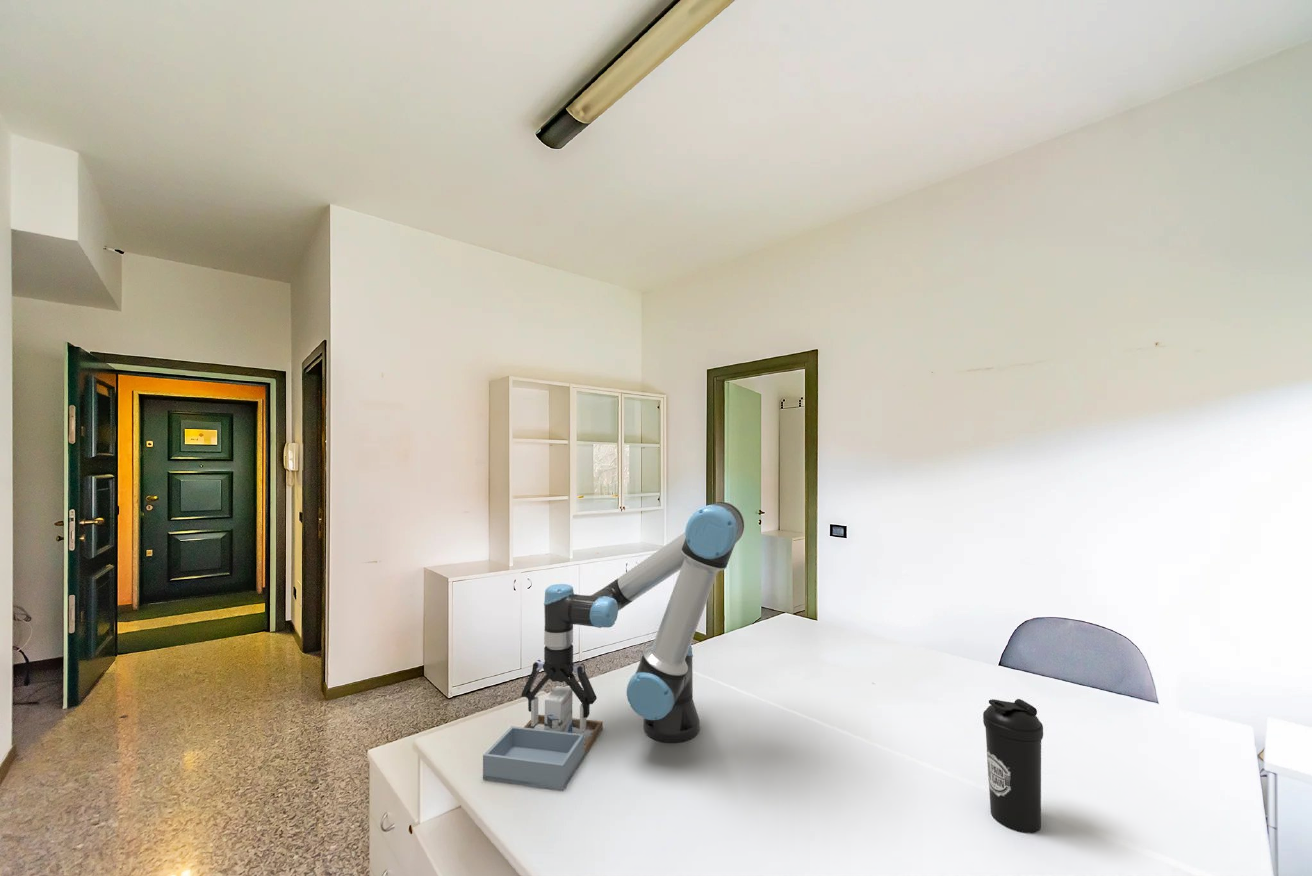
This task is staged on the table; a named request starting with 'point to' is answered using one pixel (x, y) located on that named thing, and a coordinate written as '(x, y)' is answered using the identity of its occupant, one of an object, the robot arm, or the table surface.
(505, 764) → the grey bin
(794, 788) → the table surface
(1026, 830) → the water bottle
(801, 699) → the table surface
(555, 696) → the ink box
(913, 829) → the table surface
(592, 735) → the walnut frame
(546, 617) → the robot arm
